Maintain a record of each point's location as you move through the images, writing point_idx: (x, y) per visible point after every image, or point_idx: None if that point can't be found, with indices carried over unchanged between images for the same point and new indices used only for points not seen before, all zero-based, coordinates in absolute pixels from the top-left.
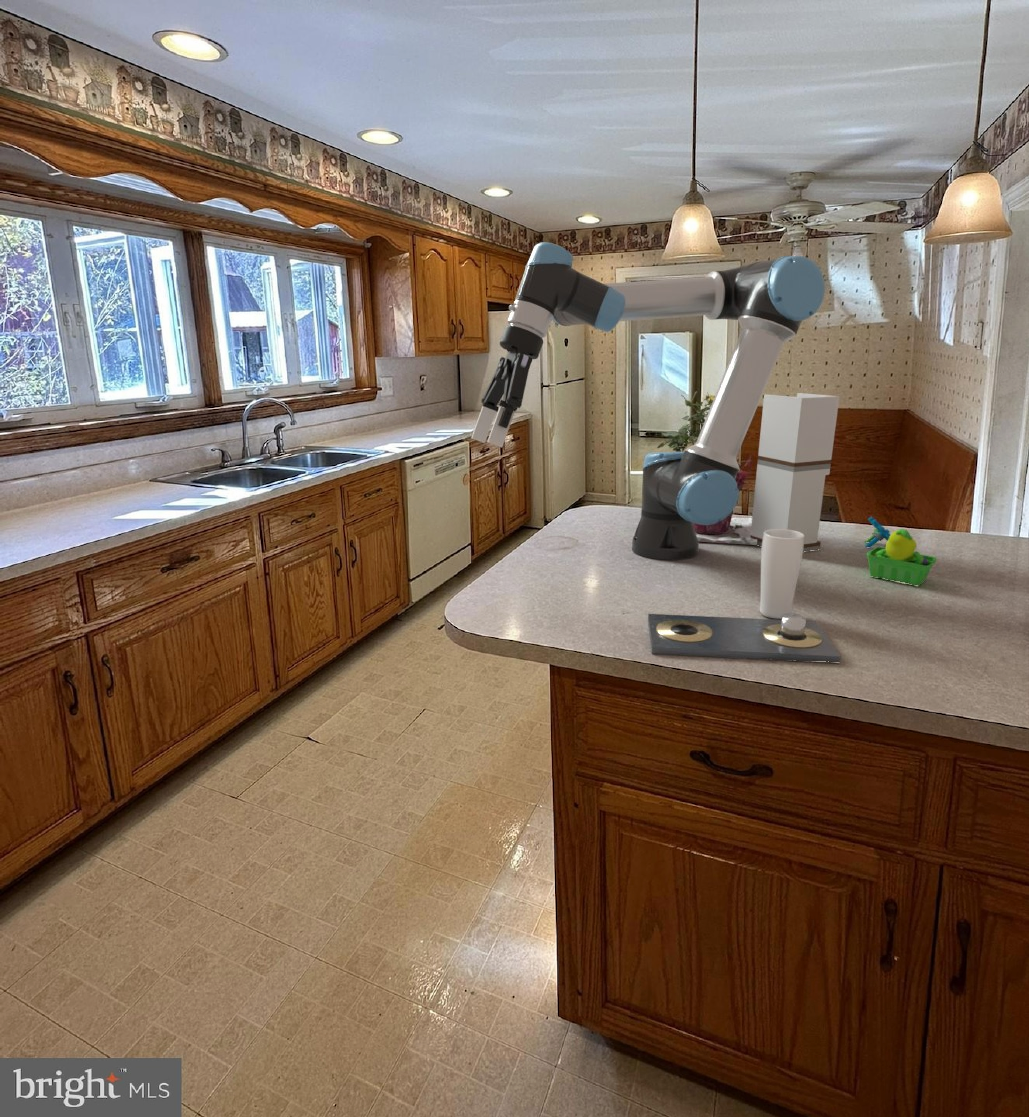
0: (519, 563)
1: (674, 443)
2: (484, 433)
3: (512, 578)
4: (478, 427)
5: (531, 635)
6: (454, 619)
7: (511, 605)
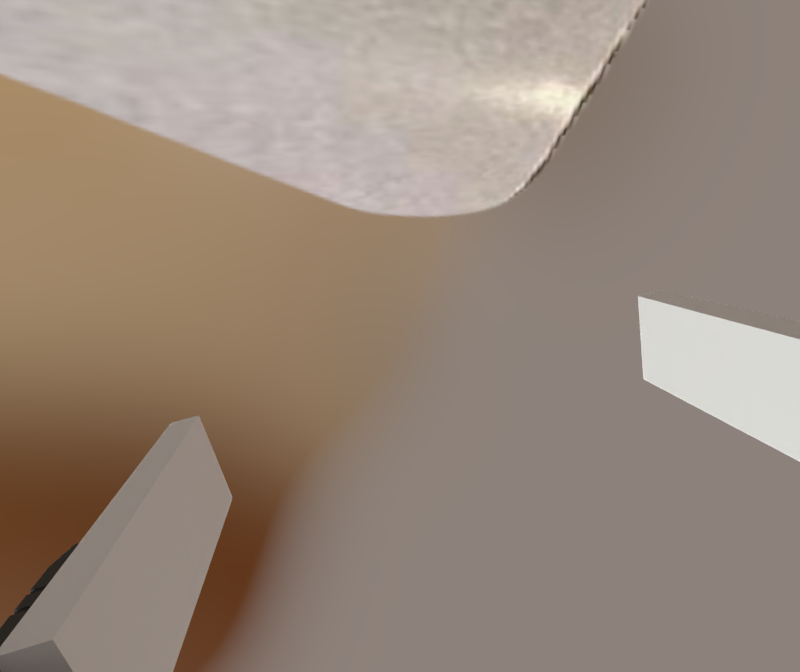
0: (11, 23)
1: None
2: (188, 473)
3: (202, 69)
4: (200, 545)
5: (575, 57)
6: (467, 212)
7: (415, 90)
